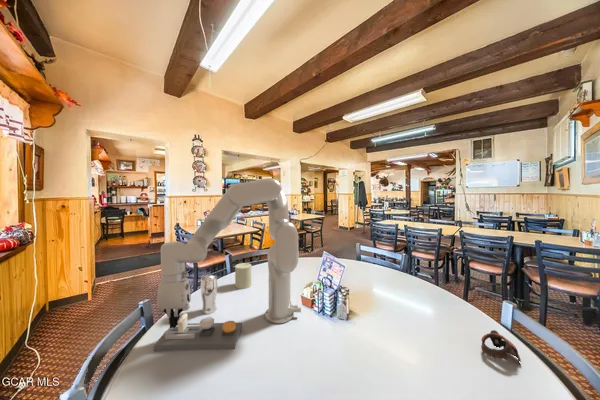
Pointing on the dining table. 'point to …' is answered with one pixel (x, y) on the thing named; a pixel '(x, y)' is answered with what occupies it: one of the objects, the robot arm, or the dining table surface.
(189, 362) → the dining table surface
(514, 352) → the brown looped piece
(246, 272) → the can
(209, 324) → the white rounded thick disc
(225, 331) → the orange button
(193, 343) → the panel
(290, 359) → the dining table surface
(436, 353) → the dining table surface
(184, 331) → the lever
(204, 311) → the tall white cup
